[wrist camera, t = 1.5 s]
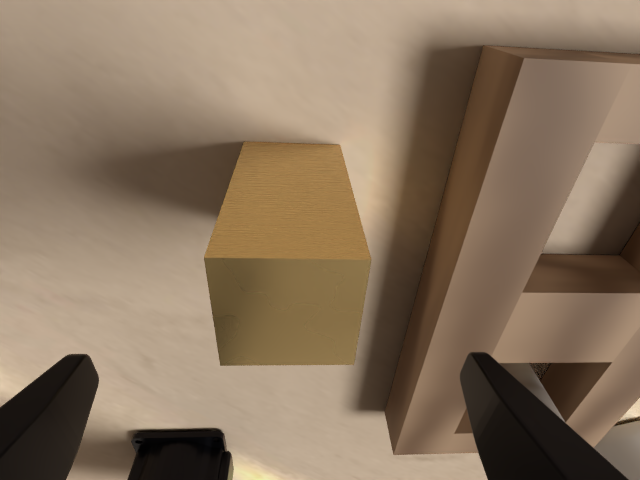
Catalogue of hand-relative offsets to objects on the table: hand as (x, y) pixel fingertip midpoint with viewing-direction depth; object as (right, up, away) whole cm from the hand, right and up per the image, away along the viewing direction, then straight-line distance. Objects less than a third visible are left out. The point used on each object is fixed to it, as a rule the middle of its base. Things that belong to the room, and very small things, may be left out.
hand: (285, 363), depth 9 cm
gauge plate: (+13, 0, +12) cm, 18 cm away
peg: (0, +5, +8) cm, 9 cm away
